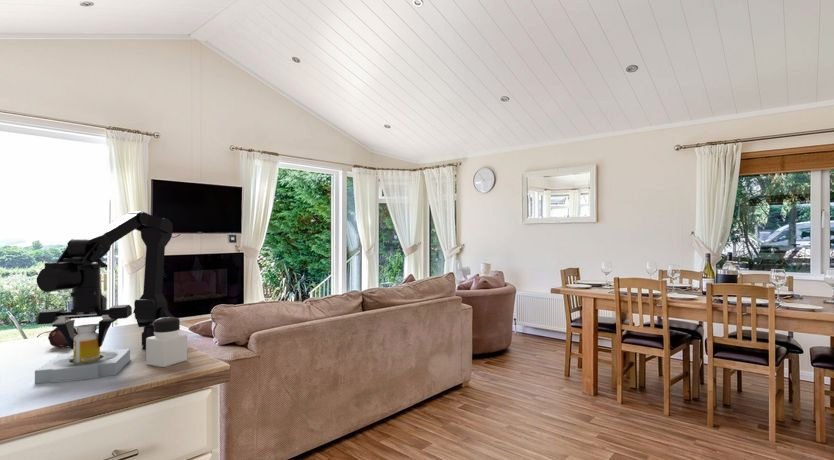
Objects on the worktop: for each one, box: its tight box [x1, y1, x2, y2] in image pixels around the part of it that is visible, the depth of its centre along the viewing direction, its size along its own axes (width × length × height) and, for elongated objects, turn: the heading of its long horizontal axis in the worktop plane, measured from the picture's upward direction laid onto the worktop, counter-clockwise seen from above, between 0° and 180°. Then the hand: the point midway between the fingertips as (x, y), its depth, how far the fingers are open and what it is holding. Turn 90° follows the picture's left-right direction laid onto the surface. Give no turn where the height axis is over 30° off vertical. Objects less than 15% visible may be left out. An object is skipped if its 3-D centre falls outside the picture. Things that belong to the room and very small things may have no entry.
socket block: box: [34, 348, 131, 384], centre depth 110 cm, size 16×16×3 cm
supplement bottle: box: [72, 323, 101, 363], centre depth 111 cm, size 5×5×10 cm
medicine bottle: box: [145, 316, 188, 368], centre depth 117 cm, size 7×7×12 cm
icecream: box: [47, 327, 78, 349], centre depth 134 cm, size 7×7×15 cm
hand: (86, 347), depth 111 cm, fingers closed on supplement bottle, 5 cm apart
